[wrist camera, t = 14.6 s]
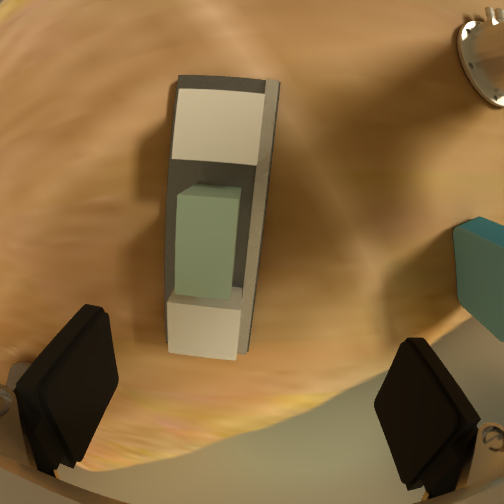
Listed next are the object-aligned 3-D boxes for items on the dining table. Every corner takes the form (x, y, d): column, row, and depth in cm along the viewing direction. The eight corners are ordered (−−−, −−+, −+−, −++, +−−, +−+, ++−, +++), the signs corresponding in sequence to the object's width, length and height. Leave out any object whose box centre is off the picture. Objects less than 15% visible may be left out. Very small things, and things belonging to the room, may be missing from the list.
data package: (478, 290, 35) (528, 330, 24) (456, 302, 36) (505, 347, 24) (474, 213, 31) (538, 239, 20) (450, 224, 32) (514, 255, 21)
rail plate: (181, 77, 27) (177, 73, 25) (279, 84, 27) (281, 80, 26) (168, 337, 36) (165, 345, 35) (248, 346, 37) (248, 354, 35)
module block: (195, 183, 29) (177, 194, 22) (241, 187, 29) (238, 199, 22) (191, 260, 32) (174, 294, 24) (234, 264, 32) (230, 299, 24)
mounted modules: (190, 98, 27) (179, 88, 22) (262, 103, 27) (265, 94, 22) (177, 327, 34) (168, 352, 30) (237, 334, 35) (236, 360, 30)
